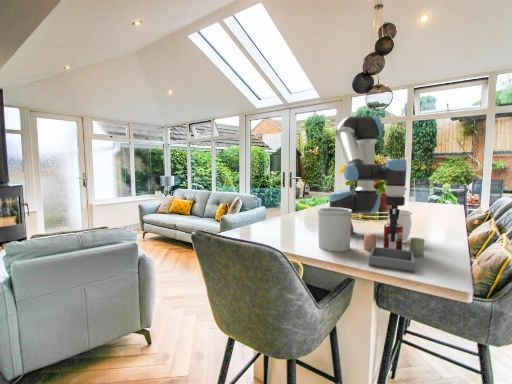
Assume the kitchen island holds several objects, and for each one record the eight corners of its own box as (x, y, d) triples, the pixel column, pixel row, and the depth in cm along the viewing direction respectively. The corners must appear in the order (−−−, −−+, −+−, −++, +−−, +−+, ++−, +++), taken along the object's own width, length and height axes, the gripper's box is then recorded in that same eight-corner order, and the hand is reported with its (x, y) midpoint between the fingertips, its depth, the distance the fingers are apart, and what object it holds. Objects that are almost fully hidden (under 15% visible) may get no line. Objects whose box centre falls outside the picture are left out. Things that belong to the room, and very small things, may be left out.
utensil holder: (332, 254, 116) (334, 212, 115) (310, 245, 130) (311, 208, 128) (358, 249, 123) (359, 210, 122) (334, 241, 136) (335, 206, 135)
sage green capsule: (409, 256, 114) (410, 239, 113) (409, 253, 118) (410, 237, 117) (424, 258, 111) (425, 241, 111) (423, 254, 116) (424, 238, 115)
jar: (409, 240, 140) (411, 210, 138) (411, 245, 130) (412, 213, 129) (386, 237, 144) (387, 209, 143) (386, 242, 135) (387, 212, 134)
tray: (368, 265, 102) (369, 256, 102) (372, 254, 115) (372, 246, 115) (414, 272, 96) (414, 262, 95) (412, 260, 109) (413, 251, 108)
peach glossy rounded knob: (363, 250, 122) (363, 234, 121) (364, 247, 126) (365, 232, 126) (375, 251, 120) (376, 236, 119) (376, 249, 124) (377, 233, 123)
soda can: (379, 250, 122) (380, 223, 121) (395, 249, 123) (396, 223, 122) (389, 255, 115) (390, 226, 114) (405, 254, 115) (407, 226, 114)
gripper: (405, 199, 104) (402, 254, 106) (404, 193, 126) (402, 239, 128) (383, 198, 107) (381, 251, 109) (386, 193, 129) (384, 237, 131)
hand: (392, 245), depth 118 cm, fingers open, 13 cm apart
